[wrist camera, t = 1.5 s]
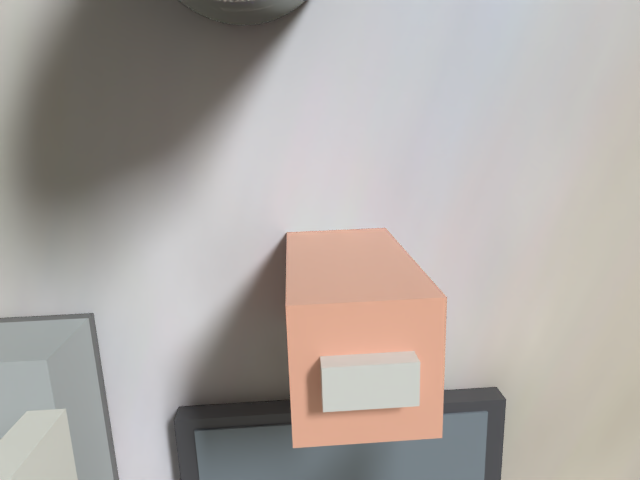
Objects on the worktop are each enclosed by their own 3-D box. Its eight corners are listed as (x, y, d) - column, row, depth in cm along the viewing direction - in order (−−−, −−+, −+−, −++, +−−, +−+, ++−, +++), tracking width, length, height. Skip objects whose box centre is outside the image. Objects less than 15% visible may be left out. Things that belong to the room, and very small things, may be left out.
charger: (286, 232, 20) (285, 315, 11) (385, 227, 20) (454, 305, 12) (291, 325, 21) (293, 463, 12) (385, 319, 21) (449, 452, 13)
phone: (179, 406, 21) (173, 422, 20) (496, 387, 22) (506, 400, 21) (194, 540, 23) (189, 560, 22) (488, 517, 24) (497, 536, 23)
